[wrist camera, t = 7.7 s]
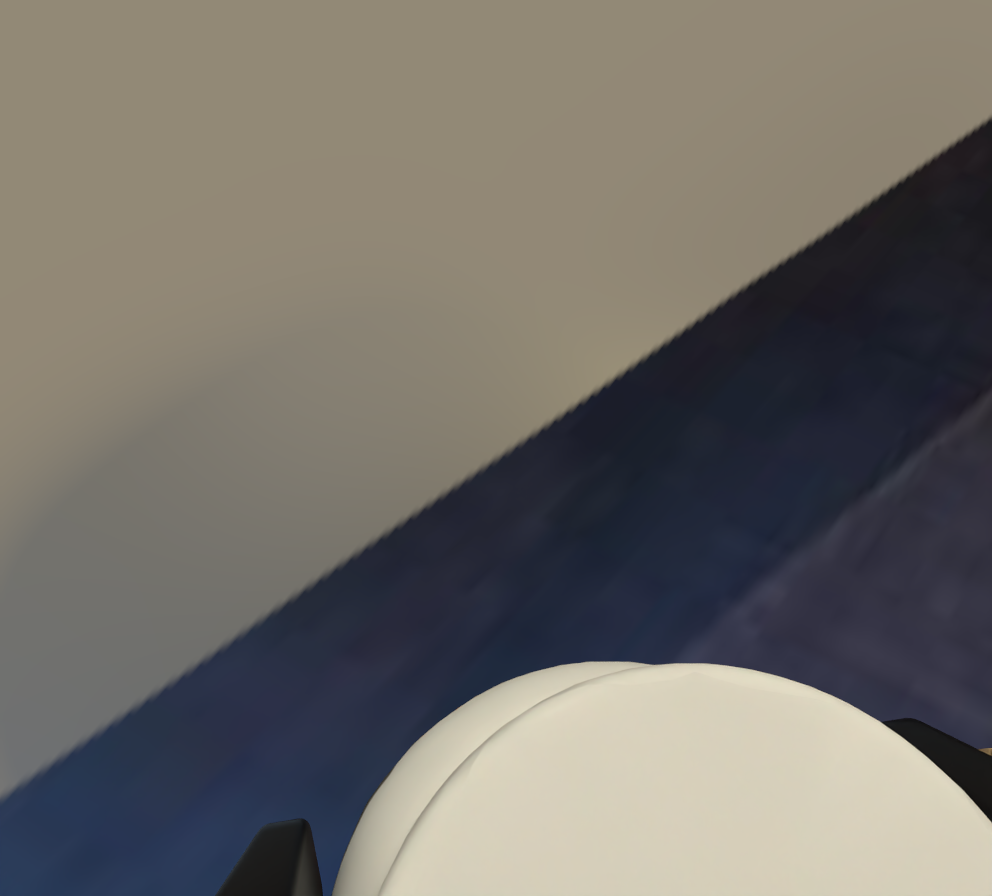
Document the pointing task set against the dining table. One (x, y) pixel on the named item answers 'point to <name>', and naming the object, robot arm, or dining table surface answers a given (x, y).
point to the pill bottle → (665, 795)
